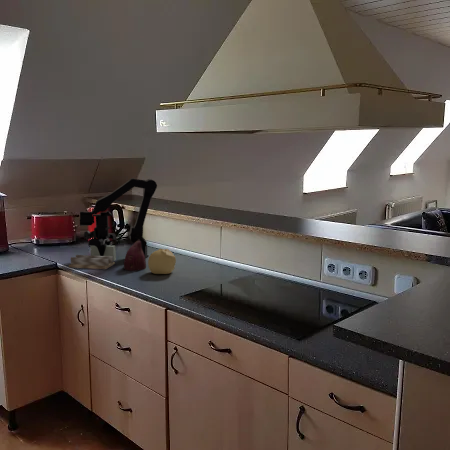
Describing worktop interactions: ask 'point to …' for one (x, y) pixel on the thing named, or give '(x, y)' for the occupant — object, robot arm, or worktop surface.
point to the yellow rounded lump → (161, 262)
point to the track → (91, 262)
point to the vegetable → (135, 258)
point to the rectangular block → (108, 251)
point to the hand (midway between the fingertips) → (103, 256)
